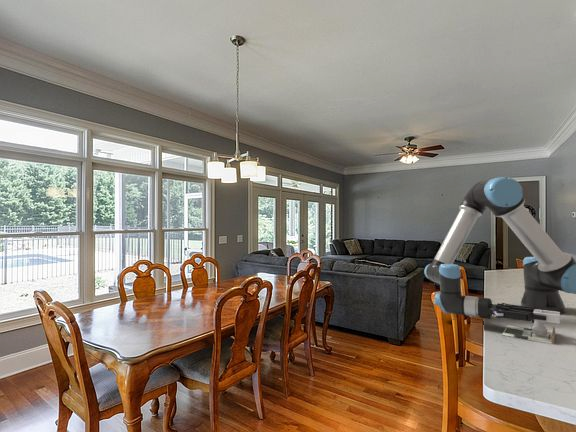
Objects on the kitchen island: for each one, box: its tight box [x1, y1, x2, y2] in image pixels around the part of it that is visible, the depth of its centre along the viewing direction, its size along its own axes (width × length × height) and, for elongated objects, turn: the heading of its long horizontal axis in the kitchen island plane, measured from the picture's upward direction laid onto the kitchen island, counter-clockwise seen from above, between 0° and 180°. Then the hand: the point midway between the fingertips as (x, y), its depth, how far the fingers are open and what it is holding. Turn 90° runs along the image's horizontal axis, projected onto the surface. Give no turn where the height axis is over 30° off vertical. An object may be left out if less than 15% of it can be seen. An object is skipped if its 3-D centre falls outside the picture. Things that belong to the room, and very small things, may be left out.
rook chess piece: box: [531, 309, 548, 336], centre depth 109 cm, size 4×4×8 cm
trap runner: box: [501, 324, 556, 345], centre depth 111 cm, size 12×14×2 cm
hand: (559, 317), depth 105 cm, fingers closed on rook chess piece, 3 cm apart
